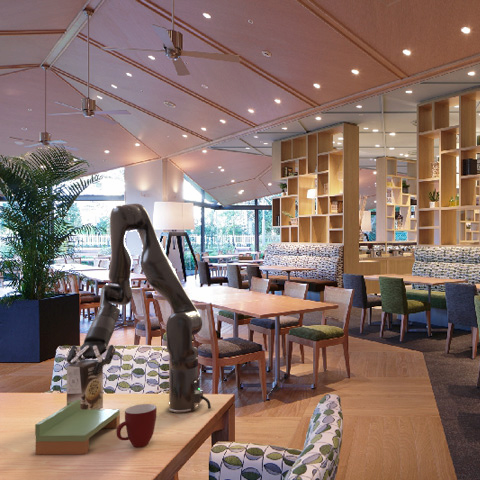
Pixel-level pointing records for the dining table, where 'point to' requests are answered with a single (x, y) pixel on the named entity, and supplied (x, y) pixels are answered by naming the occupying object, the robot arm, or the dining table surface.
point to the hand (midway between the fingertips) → (82, 374)
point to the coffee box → (85, 385)
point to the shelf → (72, 429)
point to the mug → (138, 424)
